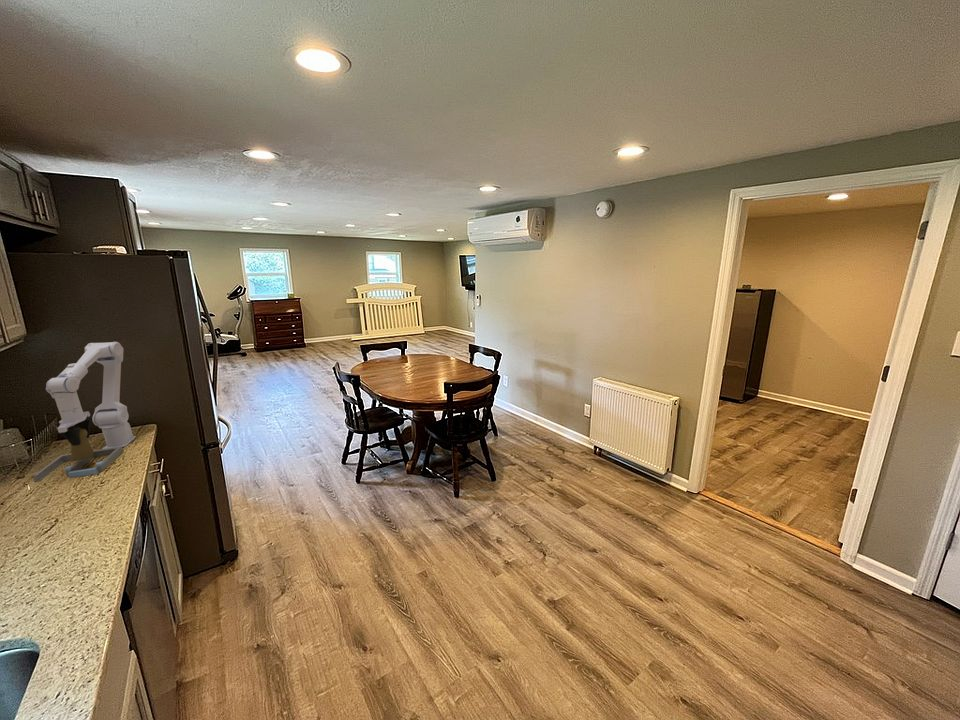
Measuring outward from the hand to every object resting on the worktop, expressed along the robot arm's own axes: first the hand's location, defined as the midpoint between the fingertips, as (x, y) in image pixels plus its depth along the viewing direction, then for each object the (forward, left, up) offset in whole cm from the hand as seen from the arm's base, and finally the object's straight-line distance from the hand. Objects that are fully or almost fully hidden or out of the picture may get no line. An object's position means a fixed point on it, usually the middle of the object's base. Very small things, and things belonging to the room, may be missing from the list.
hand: (81, 441), depth 143 cm
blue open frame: (0, -2, -10) cm, 11 cm away
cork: (0, -1, -6) cm, 6 cm away
